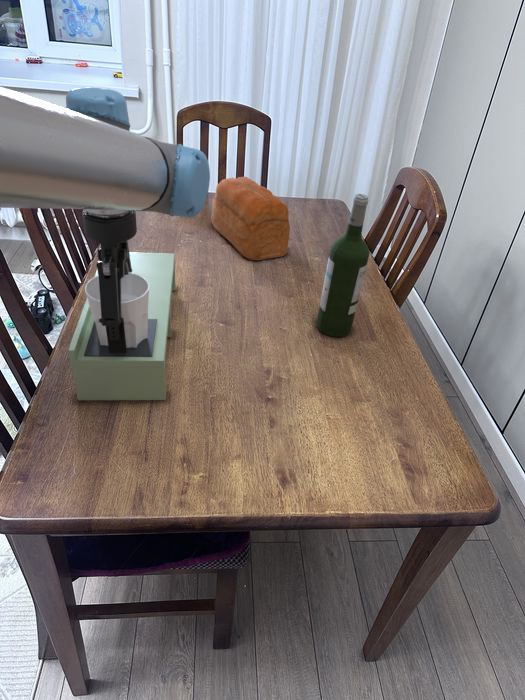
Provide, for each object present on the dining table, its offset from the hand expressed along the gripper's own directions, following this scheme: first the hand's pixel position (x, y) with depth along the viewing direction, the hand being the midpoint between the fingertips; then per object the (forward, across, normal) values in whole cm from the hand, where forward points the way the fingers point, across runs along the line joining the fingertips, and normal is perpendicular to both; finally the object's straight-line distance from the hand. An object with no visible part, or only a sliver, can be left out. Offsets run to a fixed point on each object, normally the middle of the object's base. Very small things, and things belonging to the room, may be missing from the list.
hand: (122, 332), depth 84 cm
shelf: (+10, +13, 0) cm, 16 cm away
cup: (+1, 0, 0) cm, 1 cm away
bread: (+10, +61, -27) cm, 68 cm away
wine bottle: (+10, +17, -43) cm, 48 cm away
